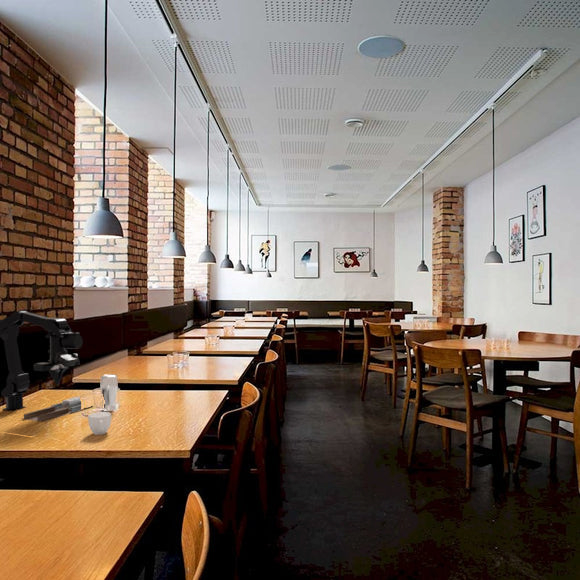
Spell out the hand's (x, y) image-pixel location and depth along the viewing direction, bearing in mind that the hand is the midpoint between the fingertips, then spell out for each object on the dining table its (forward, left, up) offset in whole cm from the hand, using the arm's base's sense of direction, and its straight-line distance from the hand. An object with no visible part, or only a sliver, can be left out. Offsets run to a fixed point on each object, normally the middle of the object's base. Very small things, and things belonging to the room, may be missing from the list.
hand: (57, 384), depth 203 cm
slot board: (+3, -2, -12) cm, 12 cm away
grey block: (+3, +8, -11) cm, 14 cm away
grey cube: (+3, +4, -11) cm, 12 cm away
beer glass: (+19, +10, -12) cm, 24 cm away
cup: (+40, -17, -12) cm, 45 cm away
